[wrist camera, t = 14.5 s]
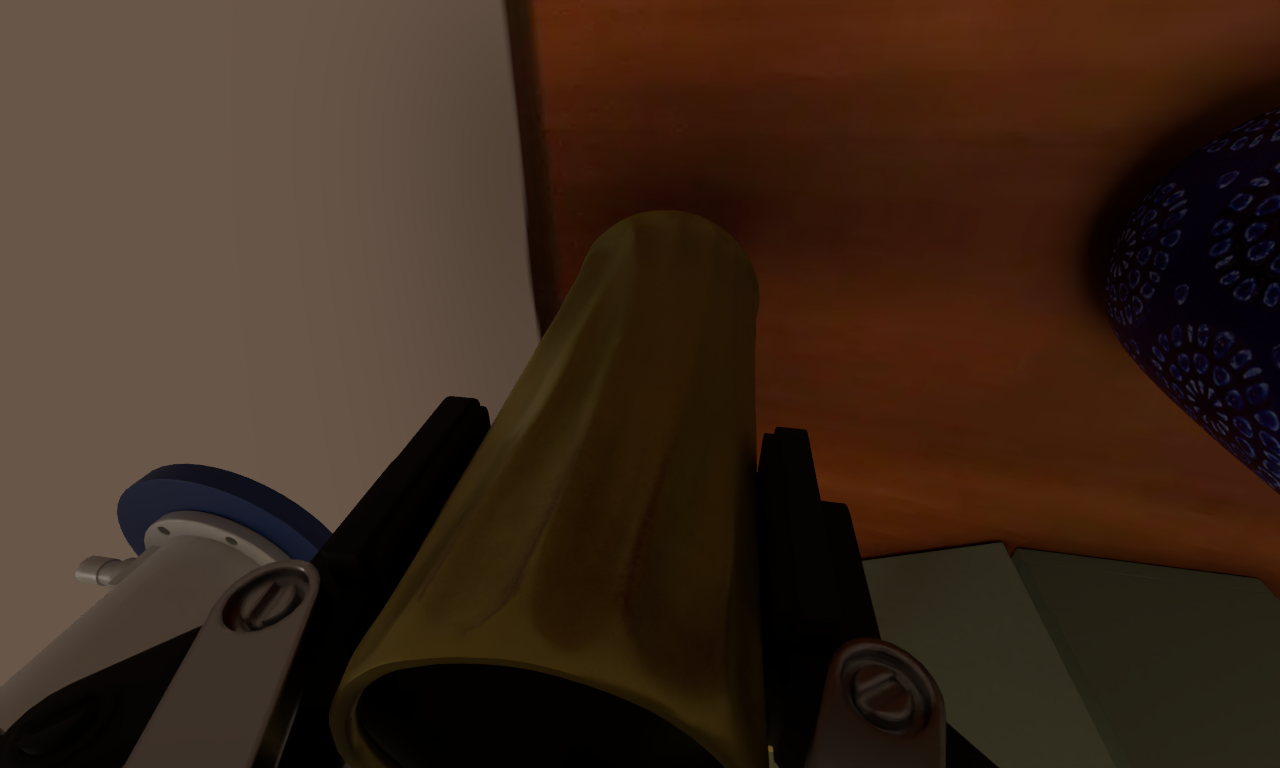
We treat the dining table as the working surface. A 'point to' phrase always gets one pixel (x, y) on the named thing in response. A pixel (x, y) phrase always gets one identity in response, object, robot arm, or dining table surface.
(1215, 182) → the planter
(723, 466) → the vase
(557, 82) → the dining table surface
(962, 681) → the cupboard door
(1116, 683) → the cupboard
